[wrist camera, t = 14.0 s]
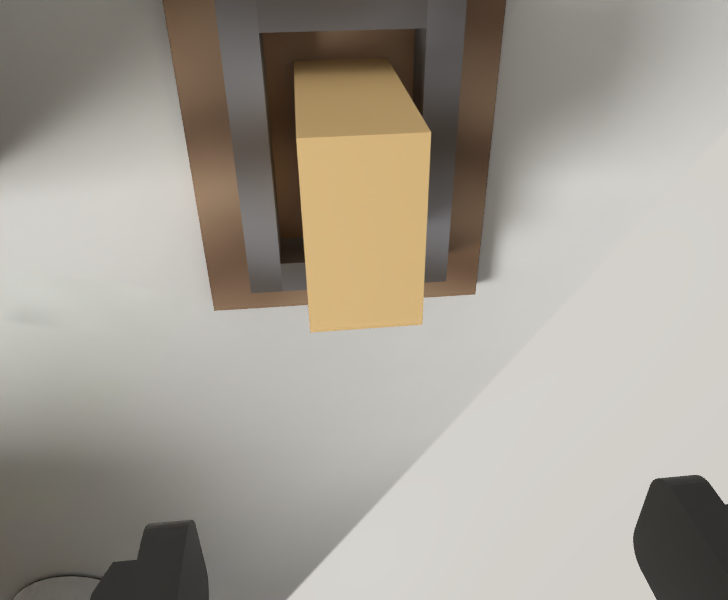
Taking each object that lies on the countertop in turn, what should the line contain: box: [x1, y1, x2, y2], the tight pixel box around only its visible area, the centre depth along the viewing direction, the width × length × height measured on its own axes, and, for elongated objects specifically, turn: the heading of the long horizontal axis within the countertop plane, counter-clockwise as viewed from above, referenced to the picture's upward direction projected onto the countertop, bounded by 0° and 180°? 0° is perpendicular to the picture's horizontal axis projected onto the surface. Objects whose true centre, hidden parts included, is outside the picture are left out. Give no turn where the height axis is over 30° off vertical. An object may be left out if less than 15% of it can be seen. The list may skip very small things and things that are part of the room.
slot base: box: [163, 0, 506, 311], centre depth 28 cm, size 18×14×4 cm
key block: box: [294, 58, 431, 332], centre depth 25 cm, size 4×7×10 cm, turn 1°
